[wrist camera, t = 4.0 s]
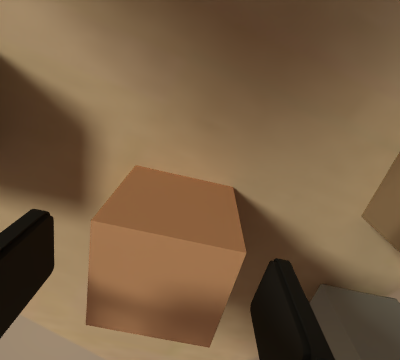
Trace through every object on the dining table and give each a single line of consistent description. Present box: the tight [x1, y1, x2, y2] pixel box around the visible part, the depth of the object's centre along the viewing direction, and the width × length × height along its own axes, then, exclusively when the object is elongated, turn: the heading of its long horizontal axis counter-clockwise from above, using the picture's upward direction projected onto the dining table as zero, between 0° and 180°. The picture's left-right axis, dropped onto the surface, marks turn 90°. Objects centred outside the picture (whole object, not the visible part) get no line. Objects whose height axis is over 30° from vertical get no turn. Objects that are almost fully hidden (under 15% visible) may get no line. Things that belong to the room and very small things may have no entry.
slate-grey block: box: [310, 284, 400, 360], centre depth 14 cm, size 5×5×5 cm
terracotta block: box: [86, 166, 246, 347], centre depth 11 cm, size 5×5×5 cm
